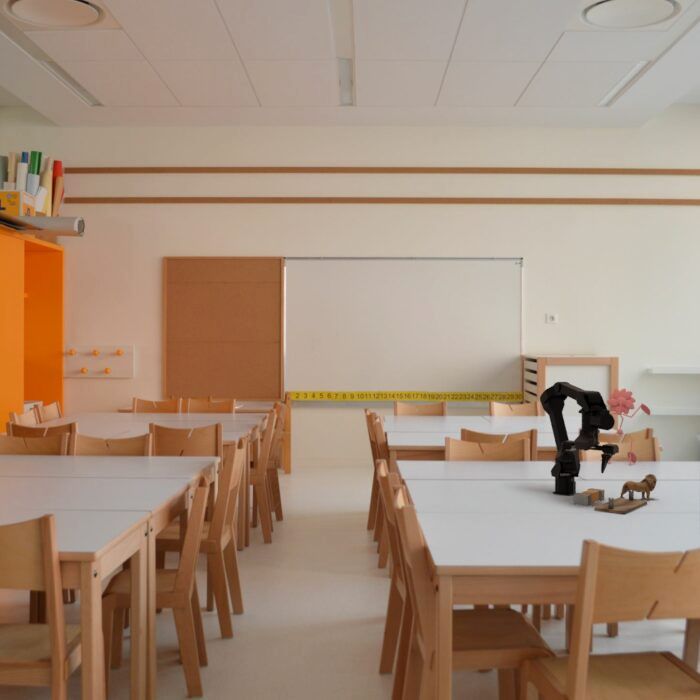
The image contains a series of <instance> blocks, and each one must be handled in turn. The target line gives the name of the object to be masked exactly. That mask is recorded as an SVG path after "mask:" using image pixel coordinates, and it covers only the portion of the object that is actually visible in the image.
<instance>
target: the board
mask: <svg viewBox="0 0 700 700" xmlns="http://www.w3.org/2000/svg"><path fill="white" fill-rule="evenodd" d="M634 492H635V491H634V490H629V492H628V498H625V497H624V498H620V497H616V498H614V497H608V501H606V502H605V503H602V504H600V505H597V506H594V509H593V510H594V511H597V512H603V513H611V514H617V515H624V516H625V515H627V514H629V513H631V512H633V511H635V510H638V509H640V508H642V507H644V506H646V505H648V500H640V499H639V500H638V499H635V498H634V497H635V495H634ZM634 499H635V500H634Z"/></svg>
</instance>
